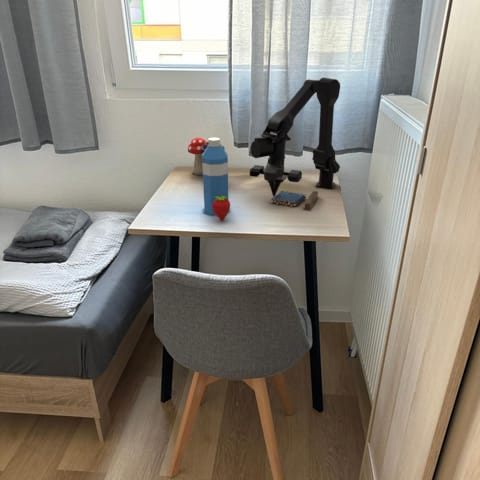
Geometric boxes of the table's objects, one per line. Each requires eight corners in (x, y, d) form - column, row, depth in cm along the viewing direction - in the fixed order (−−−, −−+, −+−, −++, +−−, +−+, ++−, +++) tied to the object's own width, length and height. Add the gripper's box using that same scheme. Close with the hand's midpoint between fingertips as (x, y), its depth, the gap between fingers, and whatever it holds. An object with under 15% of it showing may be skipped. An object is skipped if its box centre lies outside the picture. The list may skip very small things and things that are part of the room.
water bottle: (233, 207, 178) (232, 136, 164) (224, 217, 171) (222, 143, 157) (209, 204, 181) (206, 134, 167) (199, 213, 174) (195, 141, 160)
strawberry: (209, 223, 166) (207, 194, 161) (218, 215, 172) (217, 187, 167) (224, 225, 164) (224, 197, 159) (233, 218, 170) (233, 190, 165)
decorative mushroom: (214, 171, 215) (213, 136, 206) (206, 177, 208) (205, 141, 200) (194, 169, 218) (192, 134, 209) (185, 175, 211) (183, 139, 203)
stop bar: (312, 197, 187) (312, 190, 186) (317, 197, 187) (318, 191, 185) (304, 209, 176) (304, 203, 175) (309, 210, 176) (310, 203, 175)
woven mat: (280, 194, 190) (281, 189, 189) (306, 199, 186) (306, 193, 185) (269, 203, 182) (270, 197, 181) (296, 207, 178) (296, 202, 177)
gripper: (245, 156, 172) (243, 199, 181) (296, 163, 167) (292, 206, 176) (255, 149, 181) (253, 190, 190) (304, 155, 176) (300, 197, 185)
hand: (274, 196), depth 185 cm, fingers closed
